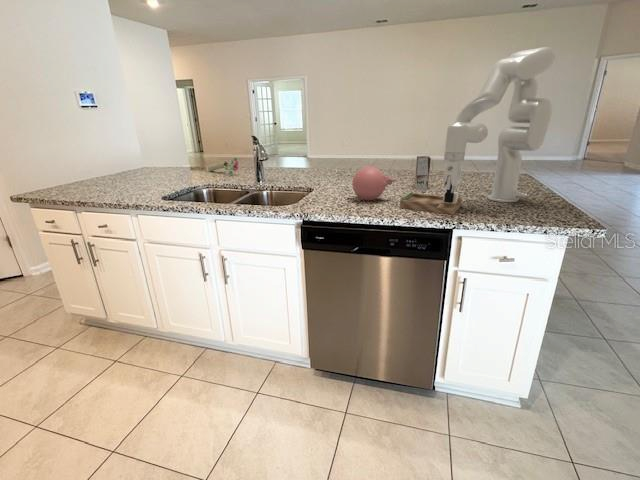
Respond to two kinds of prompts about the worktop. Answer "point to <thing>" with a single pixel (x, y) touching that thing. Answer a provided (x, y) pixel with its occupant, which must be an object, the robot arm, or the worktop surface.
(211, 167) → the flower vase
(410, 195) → the box
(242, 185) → the worktop surface
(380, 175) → the balloon
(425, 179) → the coffee box
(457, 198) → the block
